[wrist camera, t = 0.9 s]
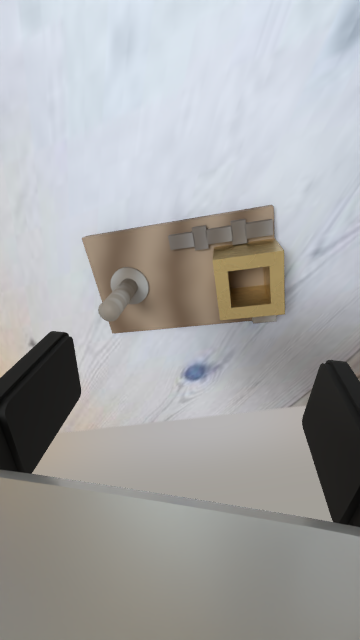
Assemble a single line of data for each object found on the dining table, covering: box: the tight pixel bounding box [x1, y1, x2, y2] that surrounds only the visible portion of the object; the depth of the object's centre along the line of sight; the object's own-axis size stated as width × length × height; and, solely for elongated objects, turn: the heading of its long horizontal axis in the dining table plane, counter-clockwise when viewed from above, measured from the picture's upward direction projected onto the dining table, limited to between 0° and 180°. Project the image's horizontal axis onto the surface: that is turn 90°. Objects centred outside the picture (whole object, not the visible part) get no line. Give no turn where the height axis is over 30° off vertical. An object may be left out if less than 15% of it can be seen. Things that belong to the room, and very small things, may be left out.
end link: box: [212, 238, 285, 320], centre depth 28 cm, size 6×6×5 cm
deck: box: [82, 205, 276, 333], centre depth 29 cm, size 20×12×8 cm, turn 100°
